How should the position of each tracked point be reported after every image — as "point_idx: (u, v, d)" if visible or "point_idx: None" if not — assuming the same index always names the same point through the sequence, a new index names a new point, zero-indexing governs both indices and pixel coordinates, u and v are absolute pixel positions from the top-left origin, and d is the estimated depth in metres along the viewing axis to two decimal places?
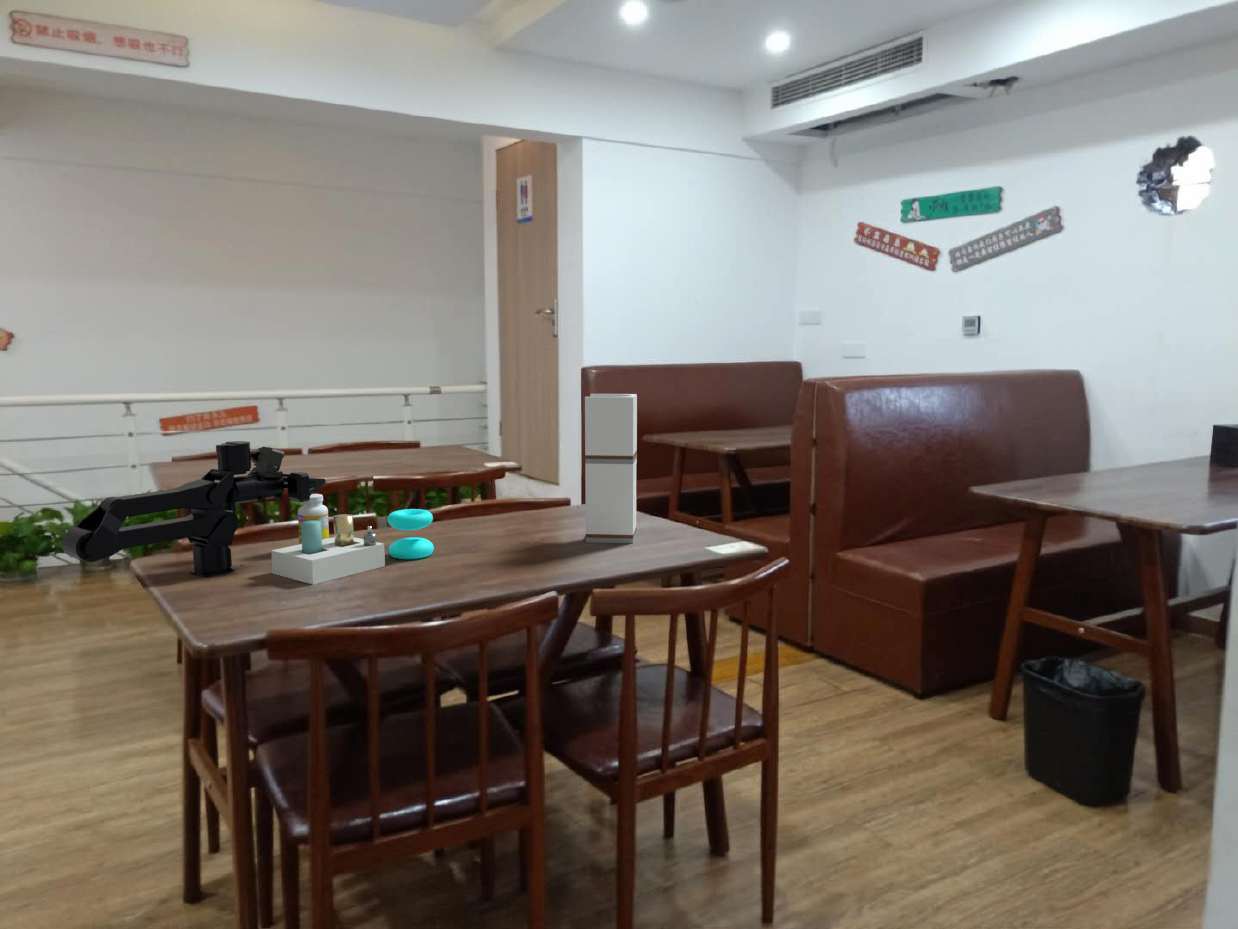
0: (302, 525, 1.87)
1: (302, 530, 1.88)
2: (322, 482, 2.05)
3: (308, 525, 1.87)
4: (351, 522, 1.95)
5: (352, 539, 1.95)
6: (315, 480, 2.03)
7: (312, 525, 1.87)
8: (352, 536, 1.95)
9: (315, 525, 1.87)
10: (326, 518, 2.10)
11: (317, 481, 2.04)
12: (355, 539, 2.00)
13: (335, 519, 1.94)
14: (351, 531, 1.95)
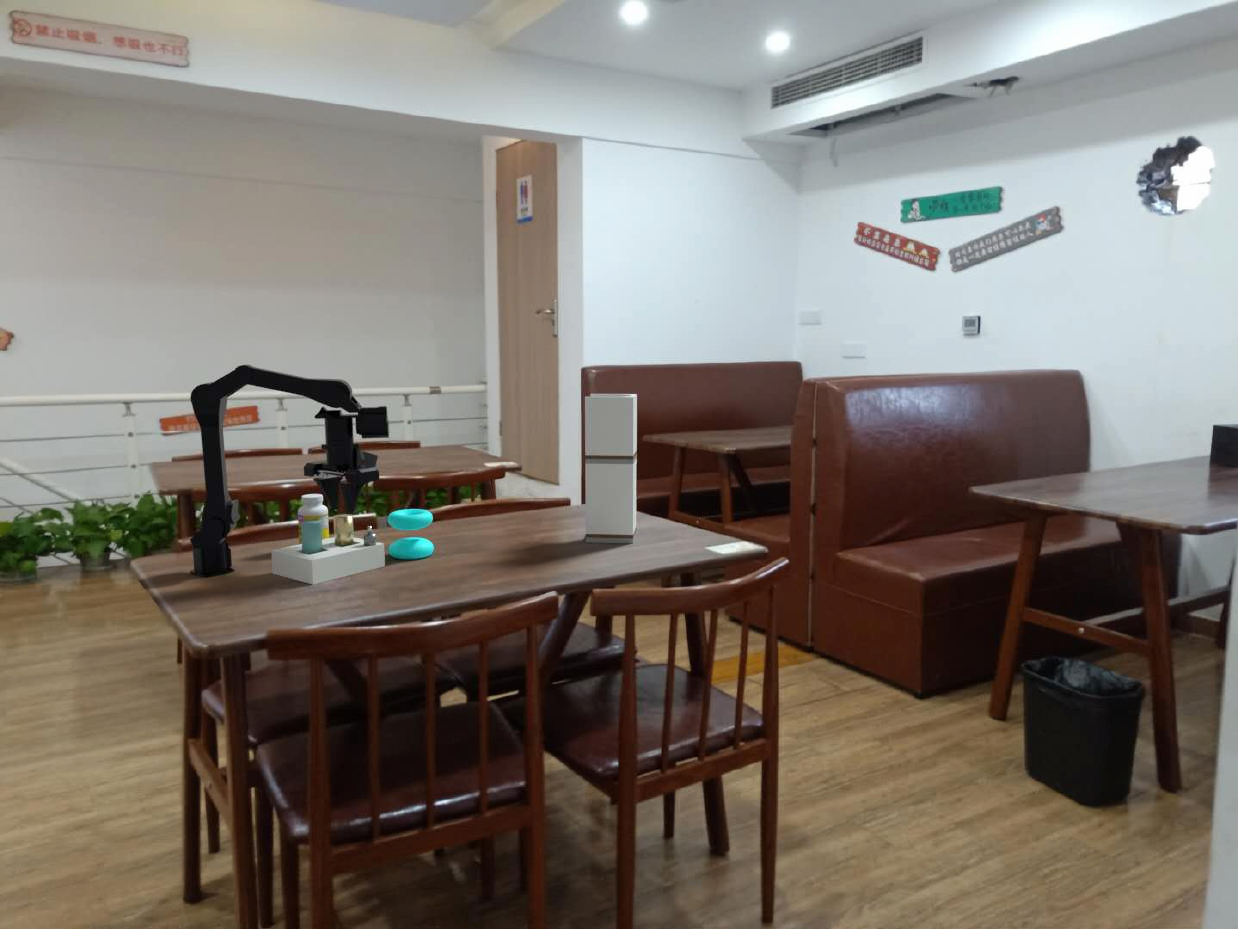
0: (302, 525, 1.87)
1: (302, 530, 1.88)
2: (351, 508, 1.93)
3: (308, 525, 1.87)
4: (351, 522, 1.95)
5: (352, 539, 1.95)
6: (355, 498, 1.93)
7: (312, 525, 1.87)
8: (352, 536, 1.95)
9: (315, 525, 1.87)
10: (326, 518, 2.10)
11: (354, 500, 1.93)
12: (355, 539, 2.00)
13: (335, 519, 1.94)
14: (351, 531, 1.95)
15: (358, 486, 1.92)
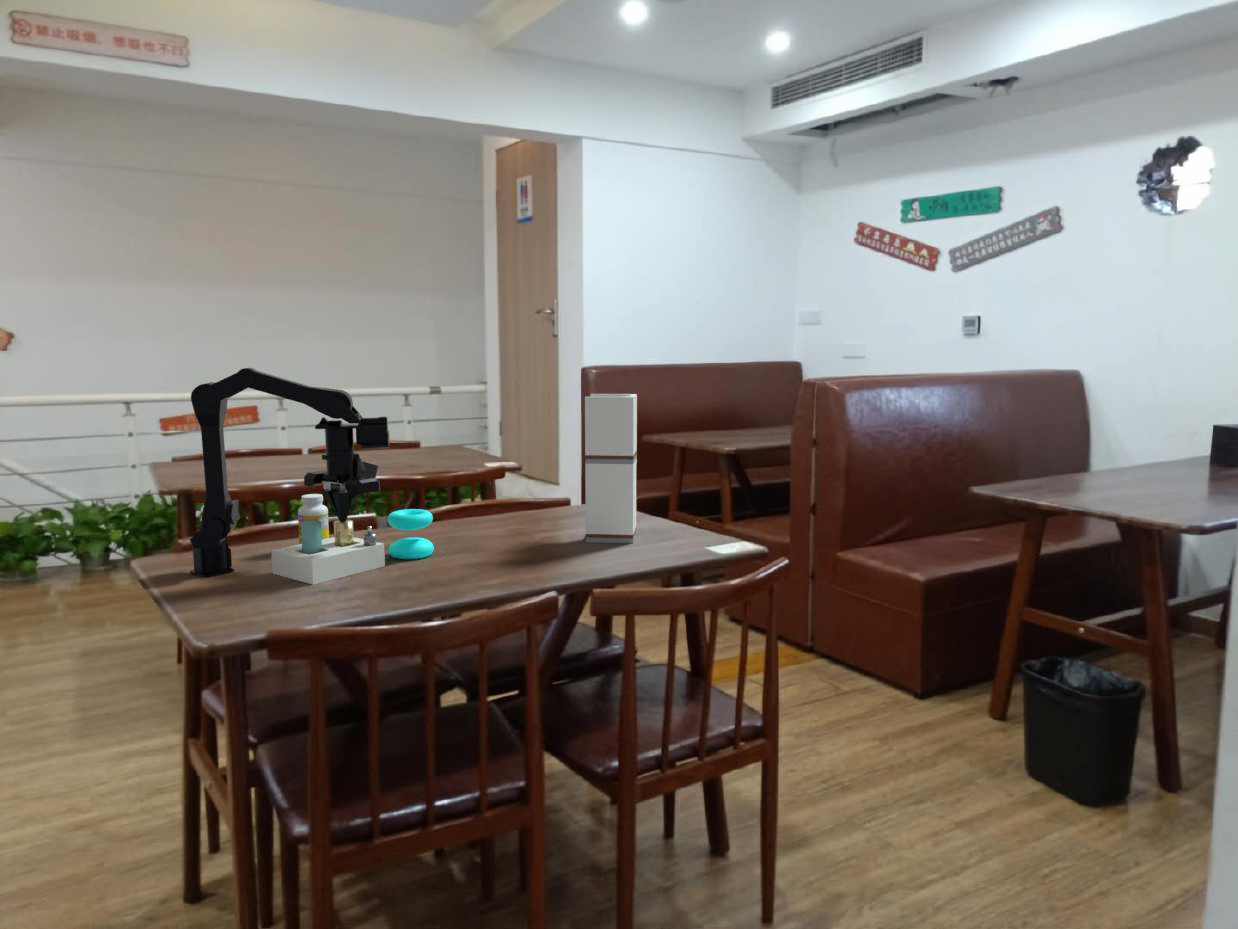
0: (302, 525, 1.87)
1: (302, 530, 1.88)
2: (344, 517, 1.95)
3: (308, 525, 1.87)
4: (351, 527, 1.95)
5: (352, 544, 1.96)
6: (348, 507, 1.95)
7: (312, 525, 1.87)
8: (352, 541, 1.96)
9: (315, 525, 1.87)
10: (326, 518, 2.10)
11: (347, 509, 1.95)
12: (355, 539, 2.00)
13: (335, 524, 1.94)
14: (351, 536, 1.95)
15: (351, 495, 1.94)
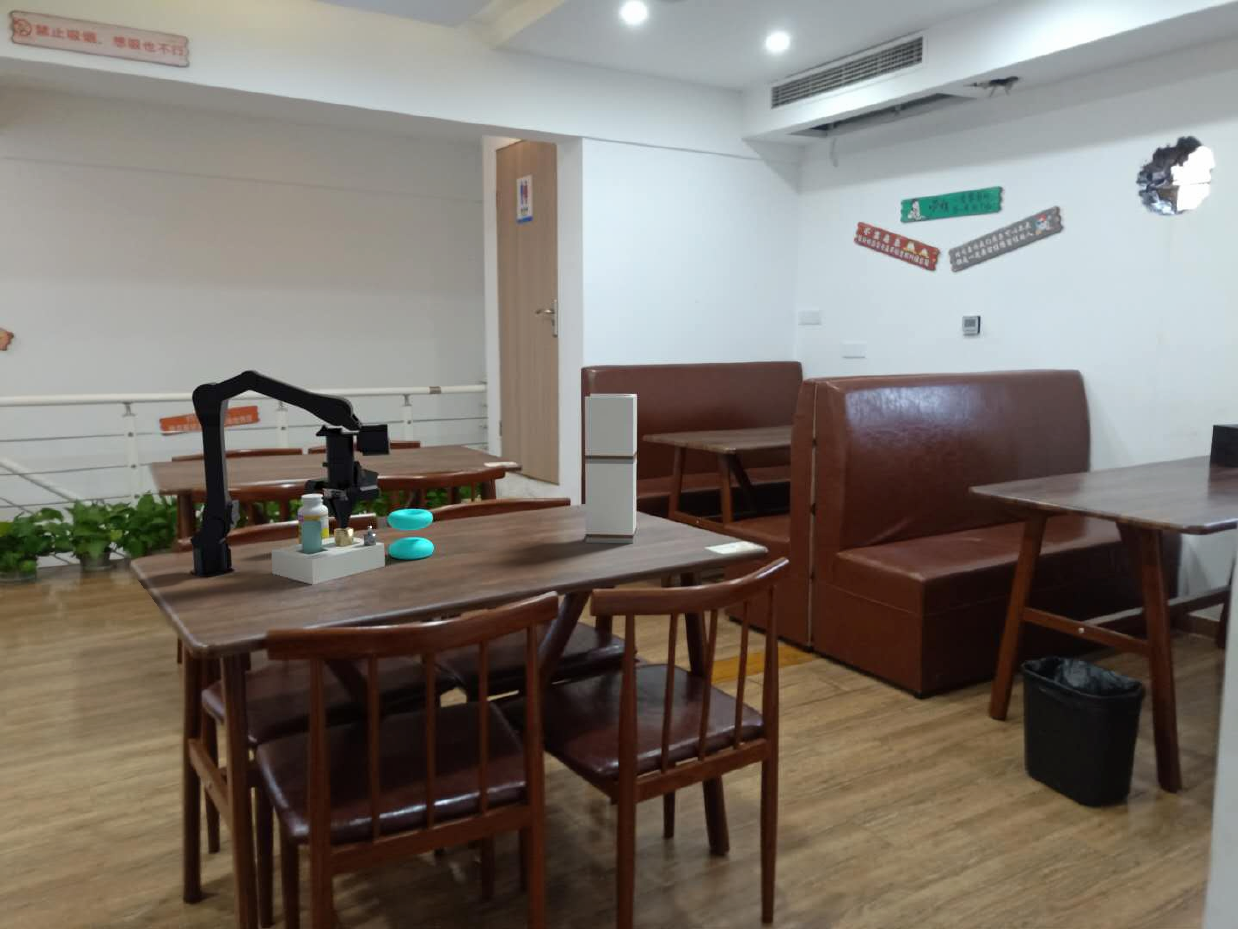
0: (302, 525, 1.87)
1: (302, 530, 1.88)
2: (344, 524, 1.95)
3: (308, 525, 1.87)
4: (352, 535, 1.95)
5: None
6: (349, 514, 1.95)
7: (312, 525, 1.87)
8: None
9: (315, 525, 1.87)
10: (326, 518, 2.10)
11: (347, 517, 1.95)
12: (355, 539, 2.00)
13: (336, 532, 1.94)
14: (352, 544, 1.95)
15: (351, 502, 1.94)
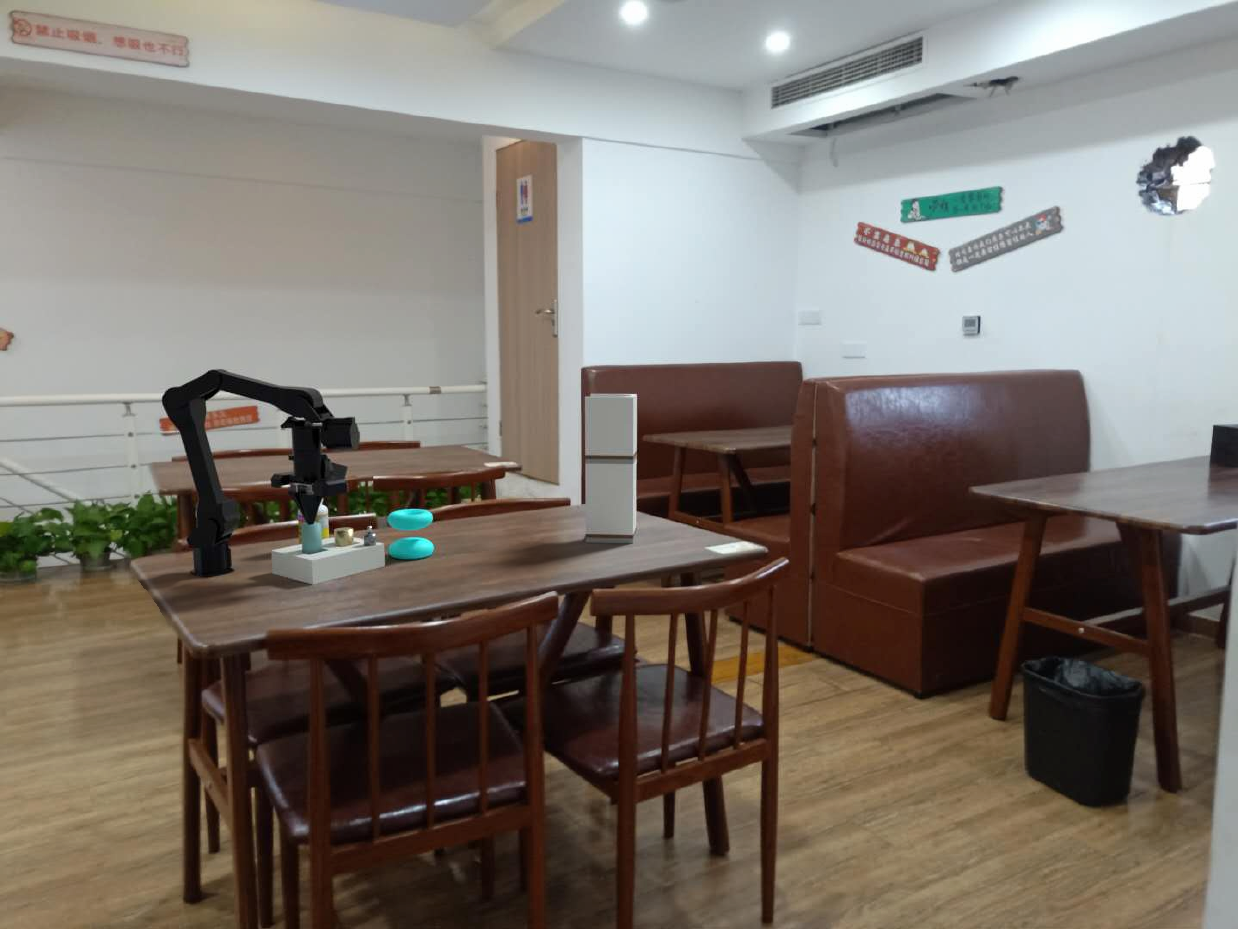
0: (302, 527, 1.87)
1: (302, 532, 1.88)
2: (311, 520, 1.88)
3: (308, 527, 1.87)
4: (352, 535, 1.95)
5: None
6: (316, 509, 1.88)
7: (312, 527, 1.87)
8: None
9: (315, 527, 1.88)
10: (326, 518, 2.10)
11: (315, 512, 1.88)
12: (355, 539, 2.00)
13: (336, 532, 1.94)
14: (352, 544, 1.95)
15: (318, 497, 1.88)
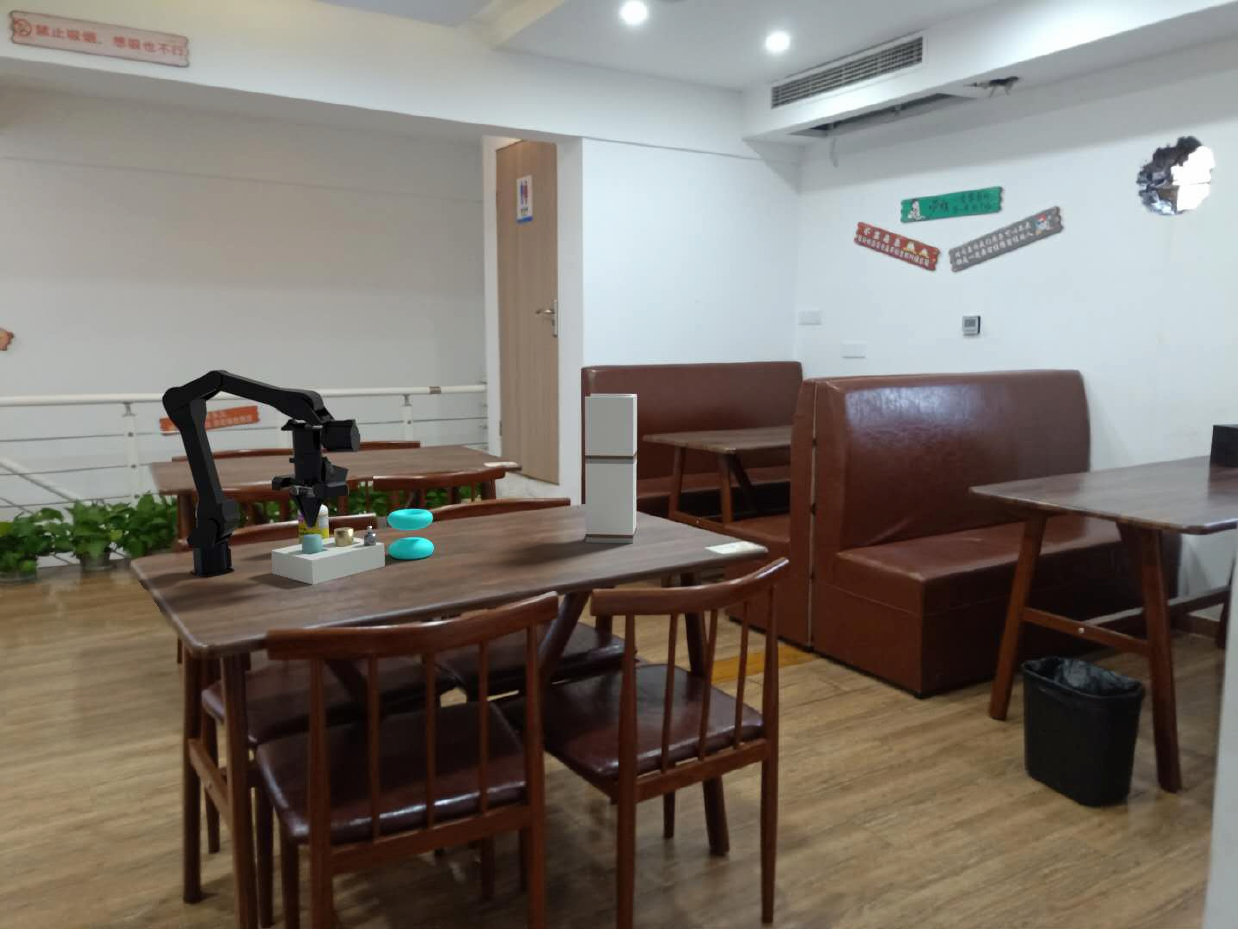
0: (303, 539, 1.88)
1: (303, 544, 1.88)
2: (312, 522, 1.88)
3: (309, 539, 1.87)
4: (352, 535, 1.95)
5: None
6: (317, 512, 1.88)
7: (313, 539, 1.88)
8: None
9: (316, 539, 1.88)
10: (326, 518, 2.10)
11: (315, 514, 1.88)
12: (355, 539, 2.00)
13: (336, 532, 1.94)
14: (352, 544, 1.95)
15: (319, 499, 1.88)
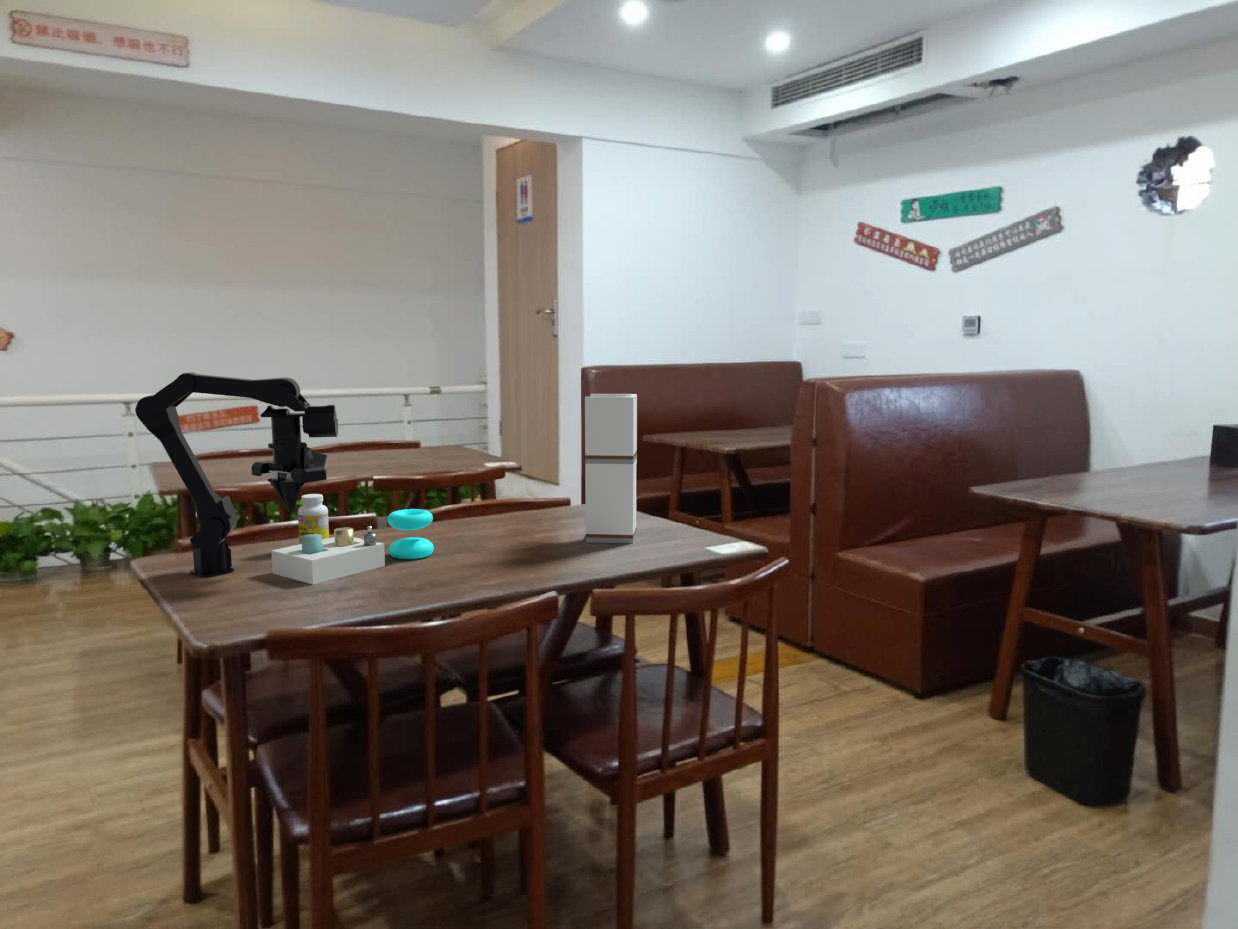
0: (303, 539, 1.88)
1: (303, 544, 1.88)
2: (291, 507, 1.92)
3: (309, 539, 1.87)
4: (352, 535, 1.95)
5: None
6: (296, 497, 1.92)
7: (313, 539, 1.88)
8: None
9: (316, 539, 1.88)
10: (326, 518, 2.10)
11: (294, 499, 1.92)
12: (355, 539, 2.00)
13: (336, 532, 1.94)
14: (352, 544, 1.95)
15: (298, 484, 1.91)
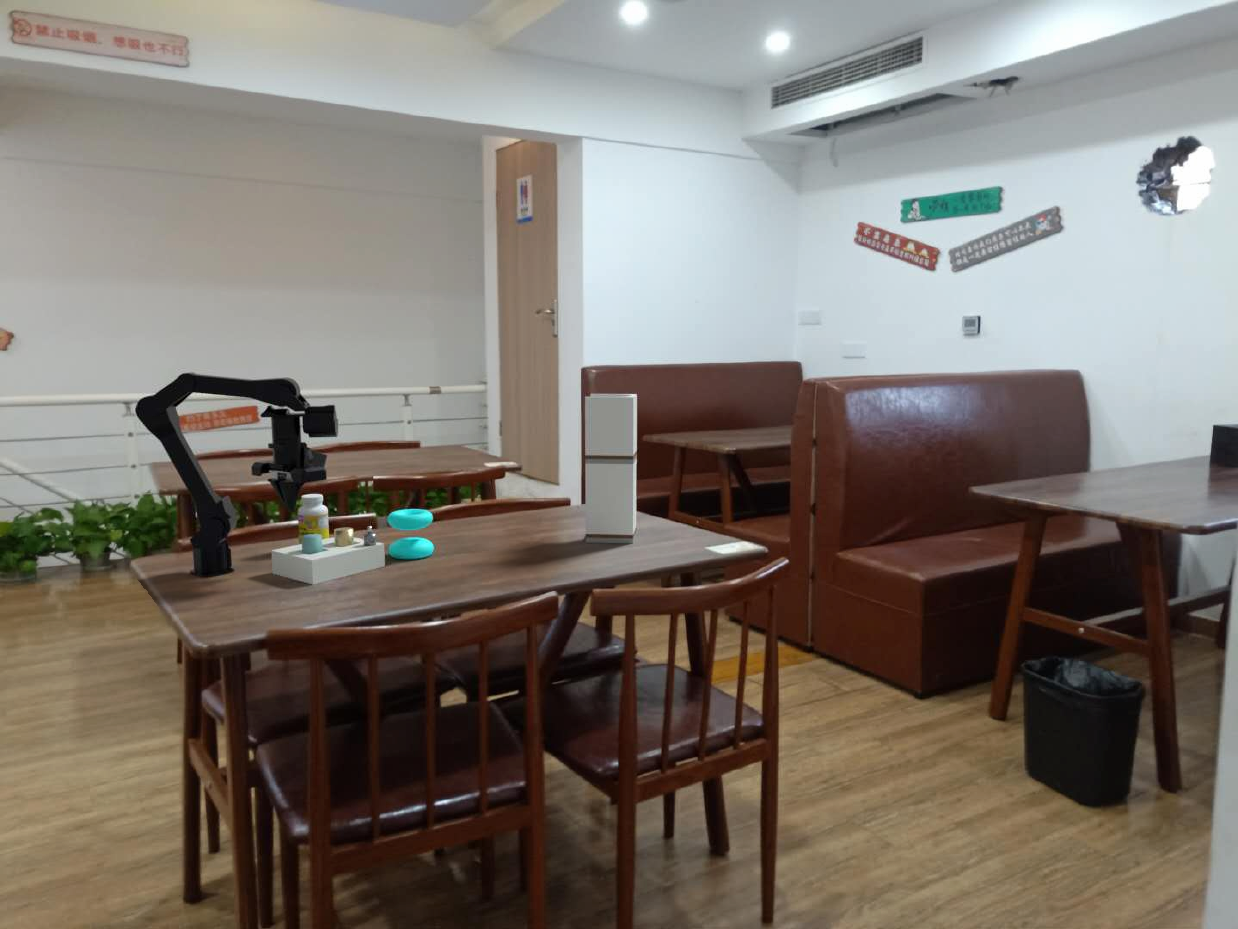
0: (303, 539, 1.88)
1: (303, 544, 1.88)
2: (291, 507, 1.92)
3: (309, 539, 1.87)
4: (352, 535, 1.95)
5: None
6: (296, 497, 1.92)
7: (313, 539, 1.88)
8: None
9: (316, 539, 1.88)
10: (326, 518, 2.10)
11: (294, 499, 1.92)
12: (355, 539, 2.00)
13: (336, 532, 1.94)
14: (352, 544, 1.95)
15: (298, 484, 1.91)
